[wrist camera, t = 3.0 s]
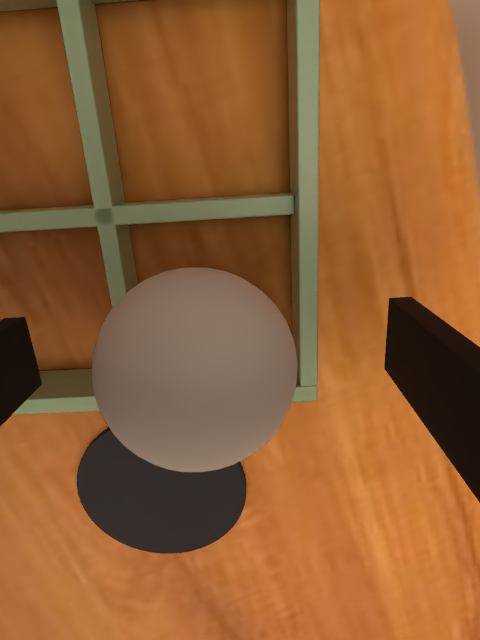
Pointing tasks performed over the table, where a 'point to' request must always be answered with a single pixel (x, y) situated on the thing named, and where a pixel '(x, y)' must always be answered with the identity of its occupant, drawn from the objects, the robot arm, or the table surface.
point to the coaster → (157, 499)
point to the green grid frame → (115, 215)
